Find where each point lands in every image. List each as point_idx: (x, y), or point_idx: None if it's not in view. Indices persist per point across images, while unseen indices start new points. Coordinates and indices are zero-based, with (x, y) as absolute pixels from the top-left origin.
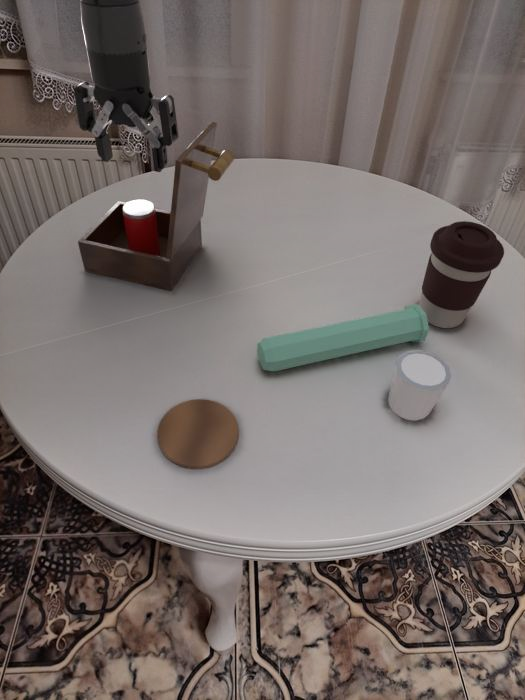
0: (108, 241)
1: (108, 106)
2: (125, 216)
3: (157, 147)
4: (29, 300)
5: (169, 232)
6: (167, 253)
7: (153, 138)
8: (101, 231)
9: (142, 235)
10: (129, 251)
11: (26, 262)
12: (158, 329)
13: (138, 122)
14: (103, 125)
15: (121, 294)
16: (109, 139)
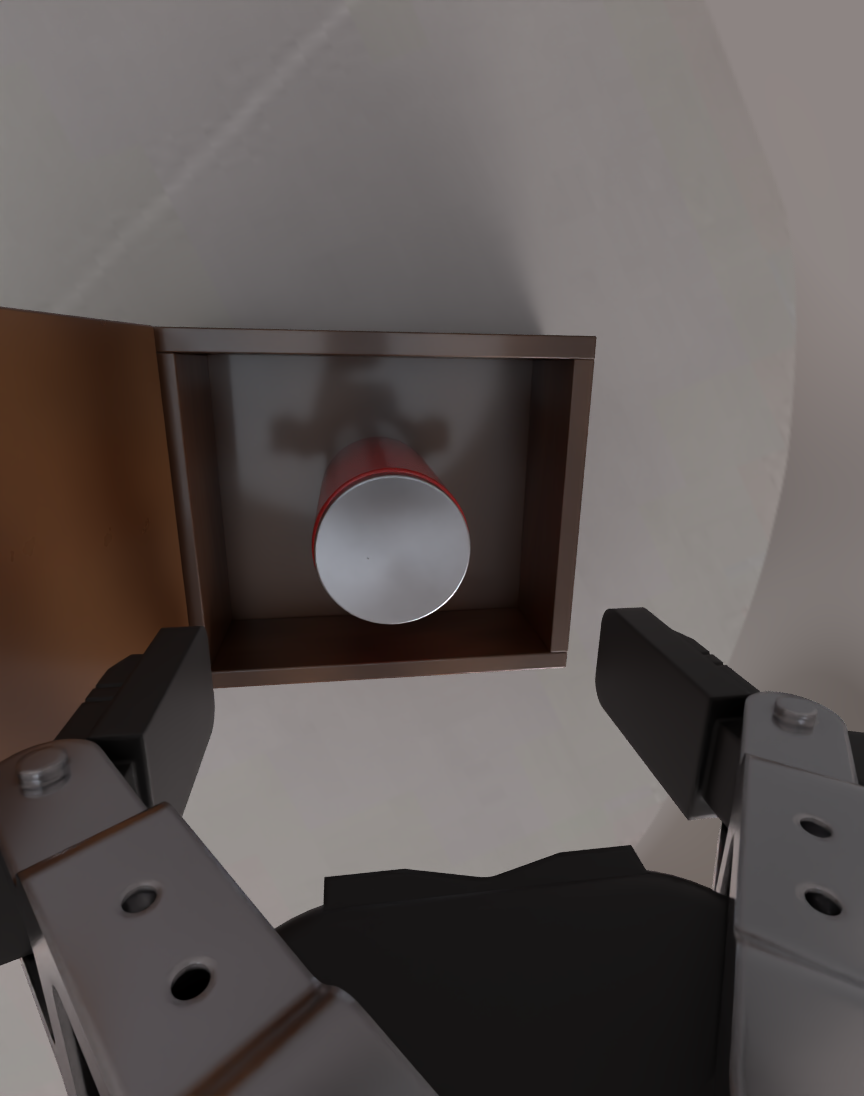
0: (529, 501)
1: (860, 1092)
2: (431, 479)
3: (51, 746)
4: (656, 105)
5: (51, 314)
6: (132, 323)
7: (44, 813)
8: (551, 482)
9: (349, 464)
10: (353, 341)
11: (755, 320)
12: (115, 80)
13: (161, 948)
14: (750, 768)
15: (358, 252)
16: (659, 770)
